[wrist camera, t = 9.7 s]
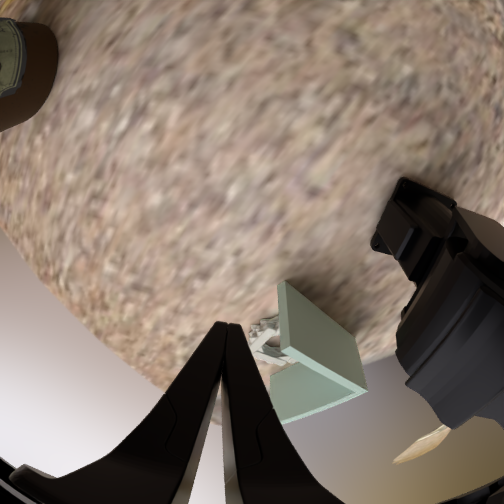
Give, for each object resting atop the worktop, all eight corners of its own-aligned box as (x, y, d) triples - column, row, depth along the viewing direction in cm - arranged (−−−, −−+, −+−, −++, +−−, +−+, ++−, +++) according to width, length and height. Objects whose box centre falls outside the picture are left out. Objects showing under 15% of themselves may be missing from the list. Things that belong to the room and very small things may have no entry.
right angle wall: (284, 276, 24) (290, 346, 18) (353, 333, 29) (368, 391, 22) (201, 334, 29) (190, 394, 23) (275, 375, 34) (276, 426, 27)
